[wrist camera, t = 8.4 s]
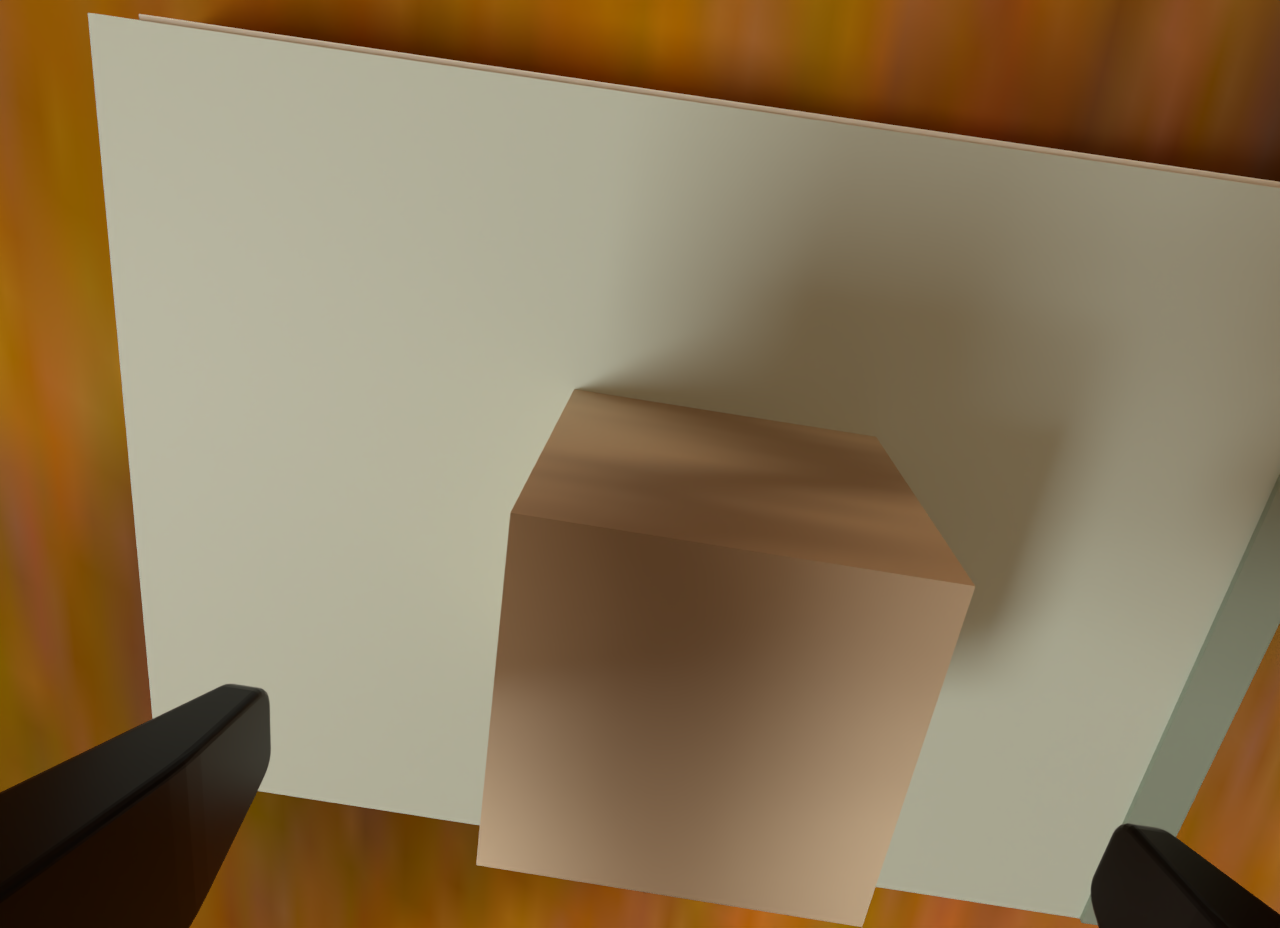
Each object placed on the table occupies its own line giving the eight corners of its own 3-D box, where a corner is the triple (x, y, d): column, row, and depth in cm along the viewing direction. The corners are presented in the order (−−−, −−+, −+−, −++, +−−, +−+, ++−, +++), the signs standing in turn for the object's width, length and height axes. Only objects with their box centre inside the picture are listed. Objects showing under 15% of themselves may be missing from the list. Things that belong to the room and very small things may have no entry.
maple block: (876, 437, 13) (975, 586, 9) (809, 689, 15) (862, 927, 10) (574, 388, 13) (511, 512, 9) (542, 647, 15) (476, 864, 10)
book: (1342, 200, 14) (1479, 209, 12) (1074, 831, 19) (1130, 930, 16) (187, 30, 14) (82, 3, 12) (223, 700, 19) (154, 779, 17)
